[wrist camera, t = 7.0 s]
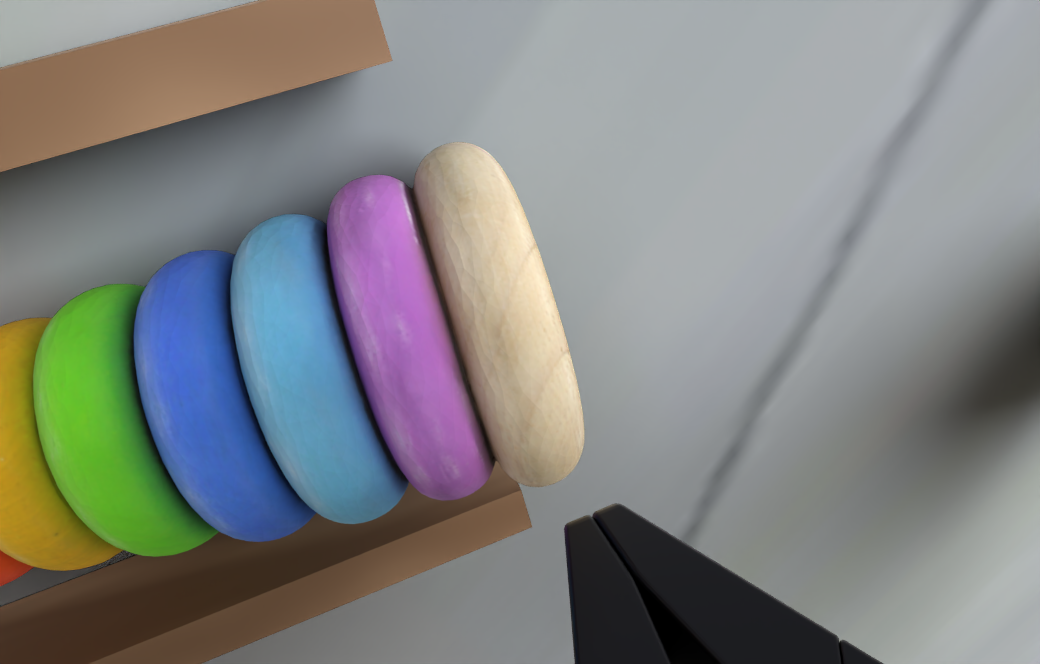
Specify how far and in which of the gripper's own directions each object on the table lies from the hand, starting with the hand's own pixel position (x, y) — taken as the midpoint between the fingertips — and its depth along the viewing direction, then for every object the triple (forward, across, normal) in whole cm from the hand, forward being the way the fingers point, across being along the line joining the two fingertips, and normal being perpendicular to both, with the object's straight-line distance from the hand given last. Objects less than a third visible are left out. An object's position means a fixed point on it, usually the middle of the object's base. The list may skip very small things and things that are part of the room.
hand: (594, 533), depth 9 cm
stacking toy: (+7, -2, 0) cm, 7 cm away
